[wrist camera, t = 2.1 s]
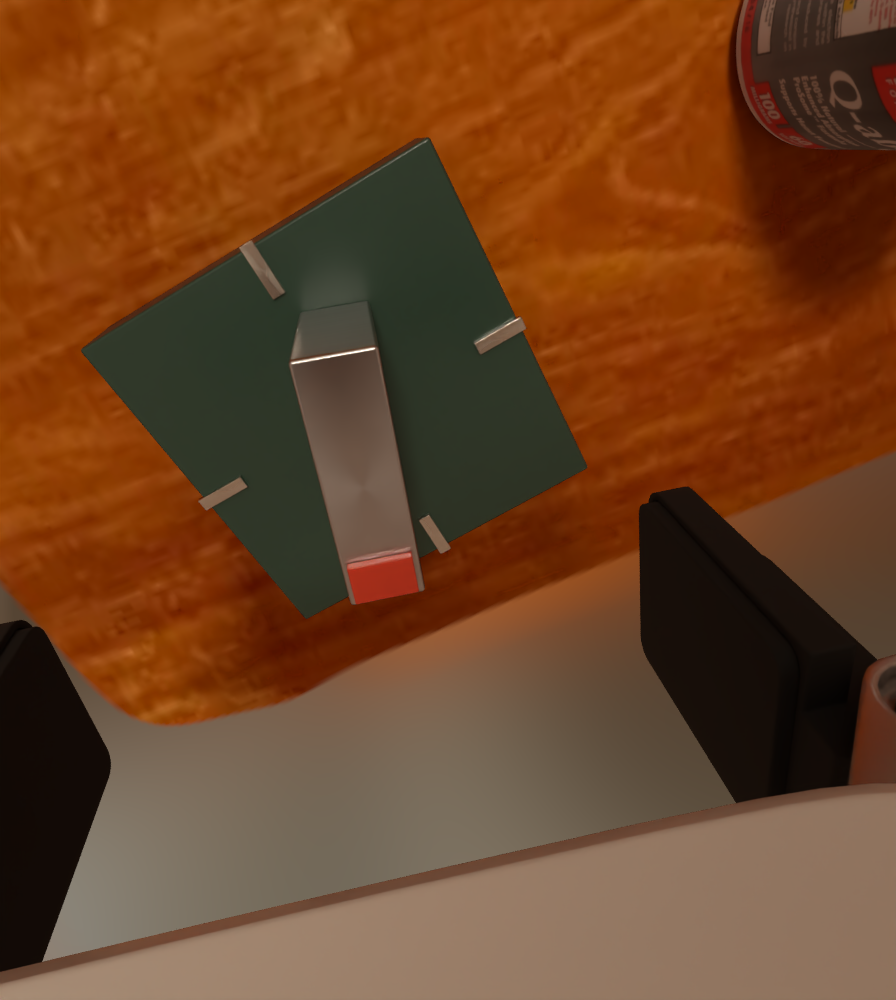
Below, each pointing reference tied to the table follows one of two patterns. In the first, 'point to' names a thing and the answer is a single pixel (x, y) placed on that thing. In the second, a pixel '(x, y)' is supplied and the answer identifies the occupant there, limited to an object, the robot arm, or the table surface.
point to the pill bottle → (821, 71)
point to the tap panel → (405, 361)
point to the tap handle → (355, 450)
